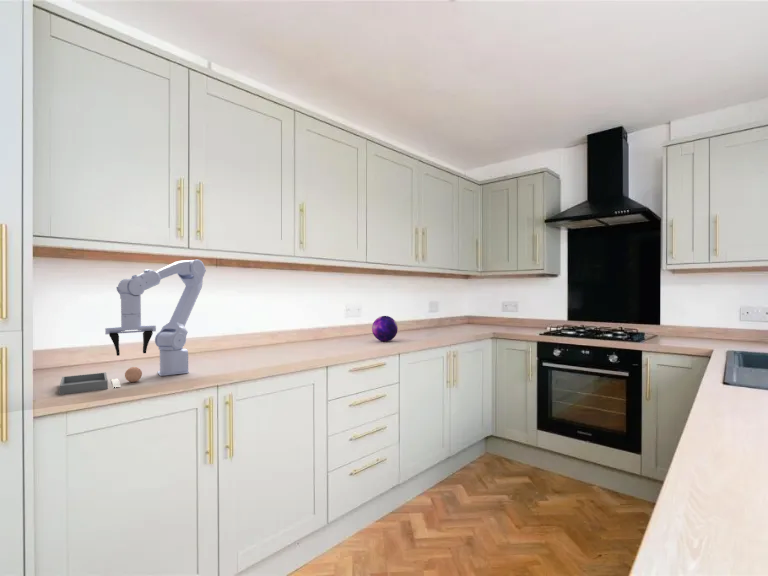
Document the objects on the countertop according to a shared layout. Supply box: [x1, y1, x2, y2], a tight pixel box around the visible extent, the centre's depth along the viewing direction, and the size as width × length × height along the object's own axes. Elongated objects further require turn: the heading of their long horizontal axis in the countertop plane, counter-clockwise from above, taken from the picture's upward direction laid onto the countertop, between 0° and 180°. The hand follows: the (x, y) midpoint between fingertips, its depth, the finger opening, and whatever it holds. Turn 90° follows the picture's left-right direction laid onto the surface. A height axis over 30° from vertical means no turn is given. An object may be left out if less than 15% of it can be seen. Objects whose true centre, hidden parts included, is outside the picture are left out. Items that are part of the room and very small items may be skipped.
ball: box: [124, 366, 143, 383], centre depth 141 cm, size 5×5×5 cm
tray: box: [58, 372, 109, 395], centre depth 134 cm, size 12×16×3 cm
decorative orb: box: [371, 315, 399, 343], centre depth 244 cm, size 15×15×15 cm
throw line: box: [110, 378, 122, 389], centre depth 139 cm, size 2×16×1 cm, turn 35°
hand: (131, 354), depth 141 cm, fingers open, 7 cm apart
